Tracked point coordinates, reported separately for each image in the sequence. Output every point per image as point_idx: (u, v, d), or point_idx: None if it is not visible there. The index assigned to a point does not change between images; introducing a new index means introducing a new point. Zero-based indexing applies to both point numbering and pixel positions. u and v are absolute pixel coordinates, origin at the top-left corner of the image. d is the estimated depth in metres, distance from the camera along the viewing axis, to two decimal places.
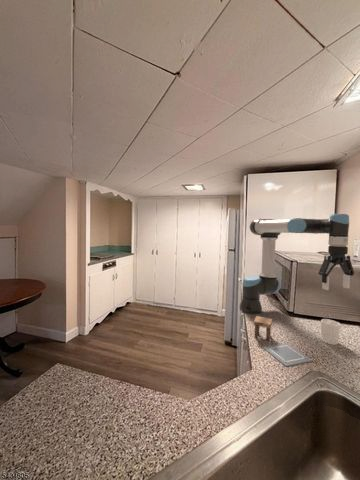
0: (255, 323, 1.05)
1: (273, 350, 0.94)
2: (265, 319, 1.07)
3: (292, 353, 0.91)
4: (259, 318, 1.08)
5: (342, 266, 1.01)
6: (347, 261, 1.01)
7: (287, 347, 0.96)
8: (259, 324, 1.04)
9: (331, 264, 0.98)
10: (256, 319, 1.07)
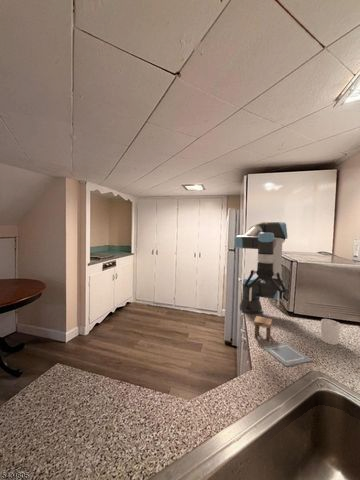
0: (255, 323, 1.05)
1: (273, 350, 0.94)
2: (265, 319, 1.07)
3: (292, 353, 0.91)
4: (259, 318, 1.08)
5: None
6: (277, 278, 1.02)
7: (287, 347, 0.96)
8: (259, 324, 1.04)
9: (255, 278, 1.07)
10: (256, 319, 1.07)
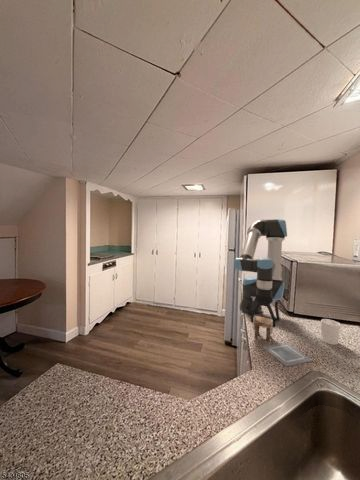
0: (255, 323, 1.05)
1: (273, 350, 0.94)
2: (265, 319, 1.07)
3: (292, 353, 0.91)
4: (259, 318, 1.08)
5: None
6: None
7: (287, 347, 0.96)
8: (259, 324, 1.04)
9: (256, 305, 1.08)
10: (256, 319, 1.07)
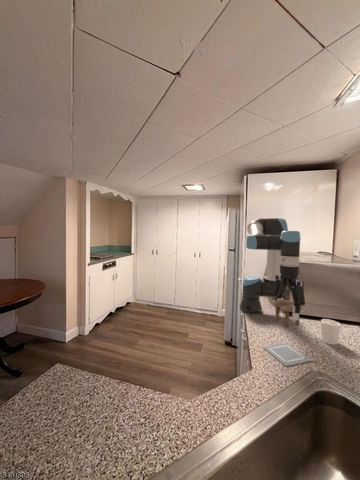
0: (275, 303, 0.93)
1: (273, 350, 0.94)
2: (291, 303, 0.90)
3: (292, 353, 0.91)
4: (286, 302, 0.93)
5: None
6: None
7: (287, 347, 0.96)
8: (278, 305, 0.91)
9: None
10: (280, 301, 0.94)
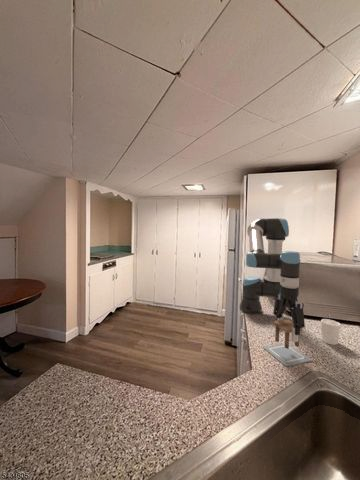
0: (274, 324, 0.93)
1: (273, 350, 0.94)
2: (290, 324, 0.90)
3: (292, 353, 0.91)
4: (286, 322, 0.93)
5: None
6: None
7: None
8: (278, 326, 0.91)
9: None
10: (280, 321, 0.94)
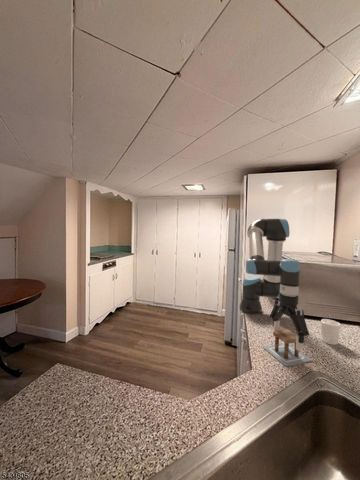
0: (274, 333, 0.93)
1: (273, 350, 0.94)
2: (290, 334, 0.91)
3: (292, 353, 0.91)
4: (285, 332, 0.93)
5: None
6: None
7: None
8: (277, 336, 0.91)
9: None
10: (279, 331, 0.94)
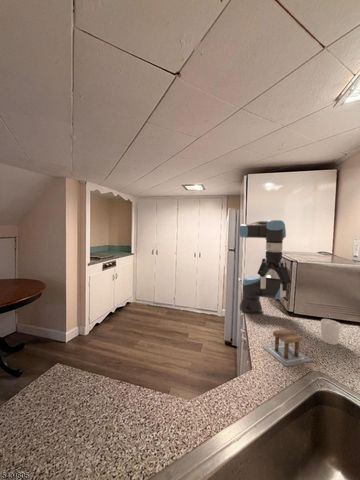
0: (274, 333, 0.93)
1: (273, 350, 0.94)
2: (290, 334, 0.91)
3: (292, 353, 0.91)
4: (285, 332, 0.93)
5: None
6: None
7: None
8: (277, 336, 0.91)
9: None
10: (279, 331, 0.94)
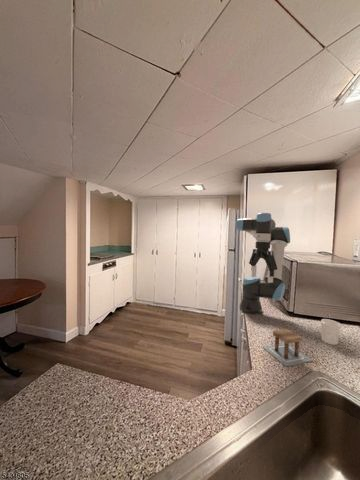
0: (274, 333, 0.93)
1: (273, 350, 0.94)
2: (290, 334, 0.91)
3: (292, 353, 0.91)
4: (285, 332, 0.93)
5: None
6: None
7: None
8: (277, 336, 0.91)
9: None
10: (279, 331, 0.94)
